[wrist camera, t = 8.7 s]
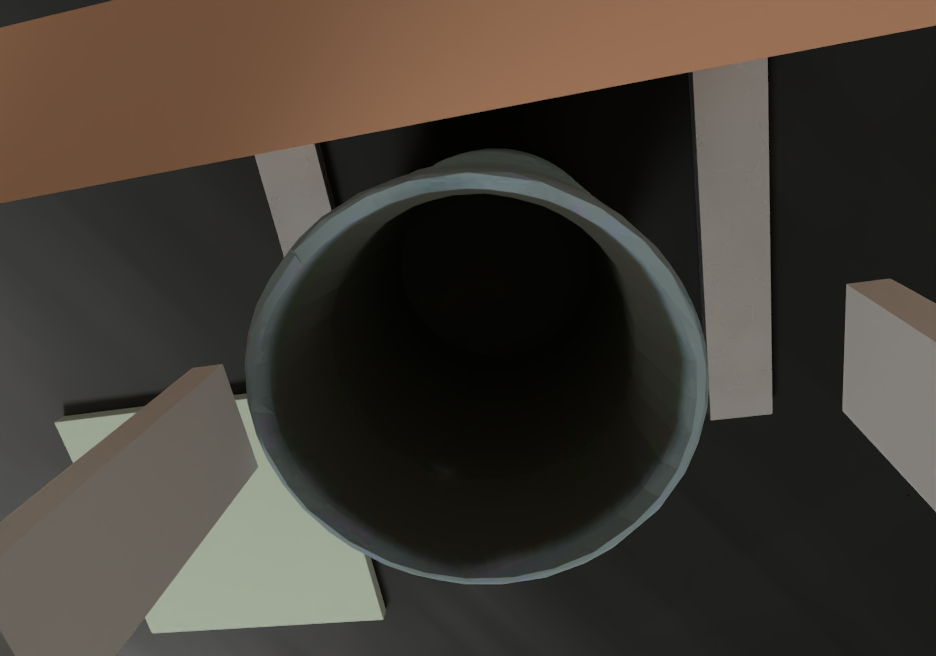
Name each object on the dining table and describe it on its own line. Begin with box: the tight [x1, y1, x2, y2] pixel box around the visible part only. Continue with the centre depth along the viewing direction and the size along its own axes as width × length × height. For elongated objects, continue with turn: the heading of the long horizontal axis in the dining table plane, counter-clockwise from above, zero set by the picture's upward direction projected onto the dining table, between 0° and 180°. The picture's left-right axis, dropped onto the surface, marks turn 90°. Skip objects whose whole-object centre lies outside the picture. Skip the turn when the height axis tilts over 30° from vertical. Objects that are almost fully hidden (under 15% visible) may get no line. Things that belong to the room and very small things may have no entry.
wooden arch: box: [0, 0, 936, 203], centre depth 14 cm, size 18×2×15 cm, turn 100°
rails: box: [255, 57, 772, 420], centre depth 24 cm, size 18×15×1 cm
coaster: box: [54, 393, 386, 633], centre depth 30 cm, size 13×13×1 cm
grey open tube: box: [245, 149, 709, 584], centre depth 19 cm, size 10×10×12 cm
